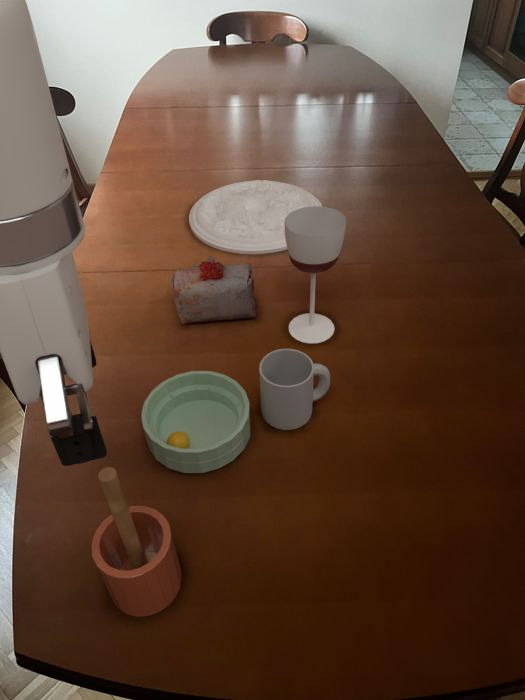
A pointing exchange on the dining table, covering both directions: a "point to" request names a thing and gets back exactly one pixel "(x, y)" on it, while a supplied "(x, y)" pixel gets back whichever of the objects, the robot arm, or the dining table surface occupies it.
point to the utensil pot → (151, 579)
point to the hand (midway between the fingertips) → (81, 410)
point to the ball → (178, 440)
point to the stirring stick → (122, 516)
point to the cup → (290, 387)
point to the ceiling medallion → (248, 215)
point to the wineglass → (313, 261)
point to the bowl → (197, 420)
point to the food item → (214, 292)
